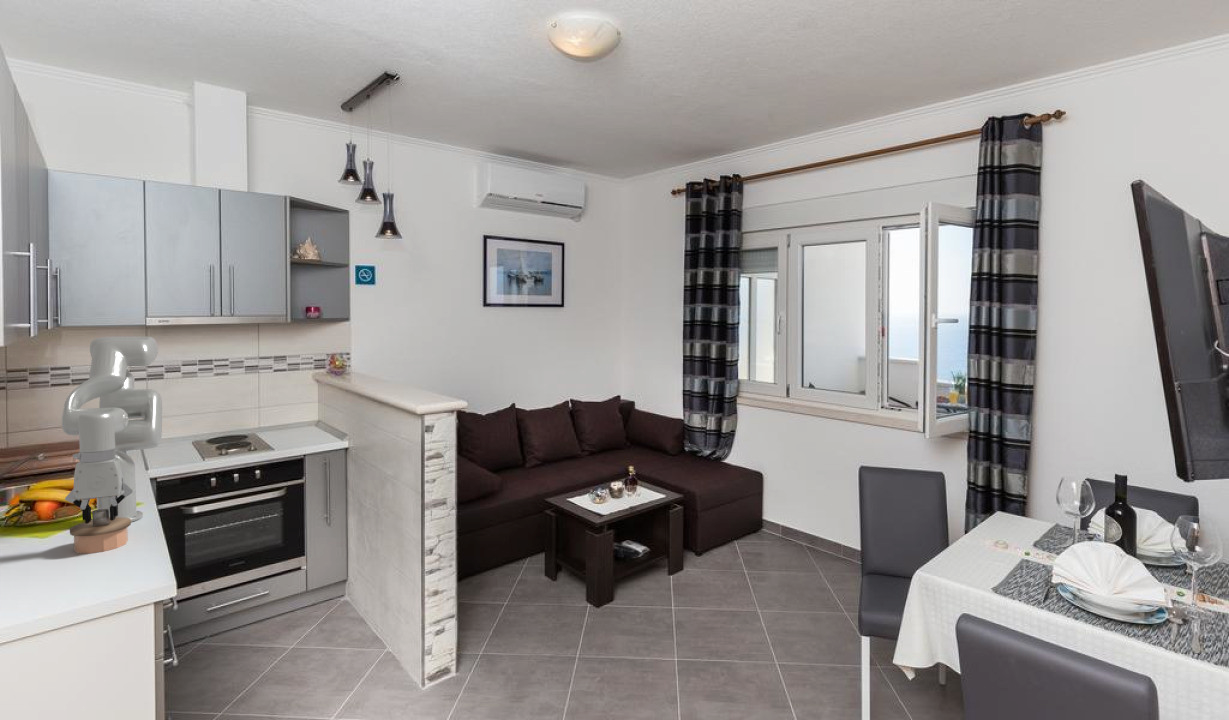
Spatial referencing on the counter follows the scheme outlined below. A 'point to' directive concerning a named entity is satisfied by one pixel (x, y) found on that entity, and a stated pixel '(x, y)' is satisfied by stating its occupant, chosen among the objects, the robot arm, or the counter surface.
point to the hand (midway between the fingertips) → (100, 519)
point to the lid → (100, 524)
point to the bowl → (100, 542)
